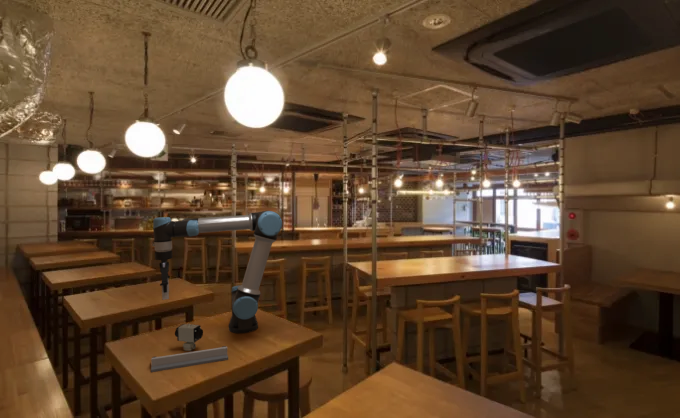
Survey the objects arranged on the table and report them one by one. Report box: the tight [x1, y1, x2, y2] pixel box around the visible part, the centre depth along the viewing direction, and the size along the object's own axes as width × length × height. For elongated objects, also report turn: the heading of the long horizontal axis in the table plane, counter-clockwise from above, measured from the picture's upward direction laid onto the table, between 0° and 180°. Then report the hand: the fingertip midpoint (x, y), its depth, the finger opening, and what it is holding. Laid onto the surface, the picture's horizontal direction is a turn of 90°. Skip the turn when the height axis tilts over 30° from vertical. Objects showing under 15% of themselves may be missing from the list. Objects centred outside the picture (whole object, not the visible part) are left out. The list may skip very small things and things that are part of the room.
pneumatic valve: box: [174, 323, 204, 352], centre depth 176 cm, size 6×12×12 cm, turn 78°
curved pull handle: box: [150, 345, 229, 373], centre depth 164 cm, size 30×10×4 cm, turn 113°
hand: (165, 295), depth 179 cm, fingers open, 13 cm apart
